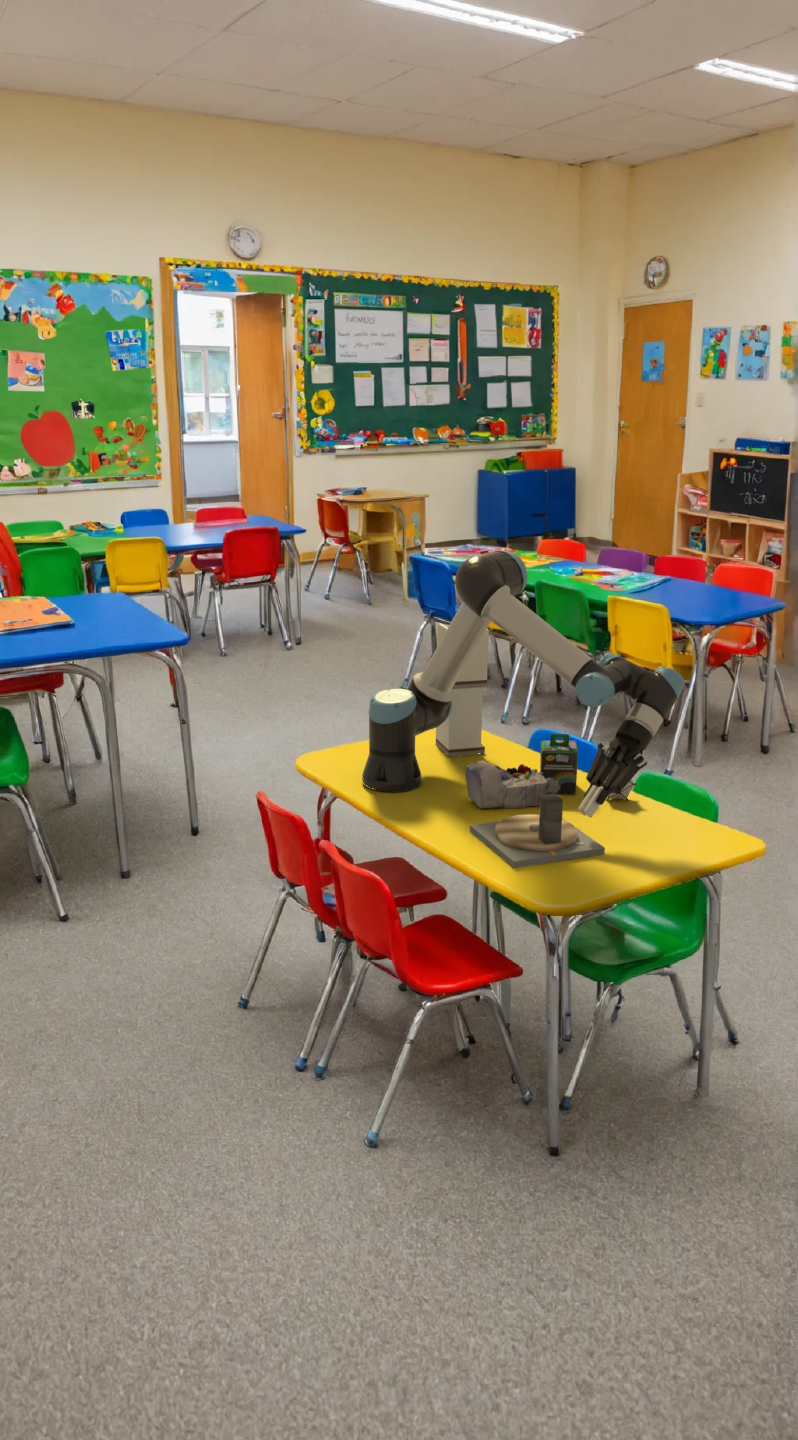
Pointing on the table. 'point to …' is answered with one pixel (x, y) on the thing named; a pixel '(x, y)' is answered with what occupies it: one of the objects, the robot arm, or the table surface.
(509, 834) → the dial
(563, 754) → the chalk box
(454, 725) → the tall cream pedestal vase
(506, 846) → the dial base plate
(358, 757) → the table surface
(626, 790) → the game die
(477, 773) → the cell model
